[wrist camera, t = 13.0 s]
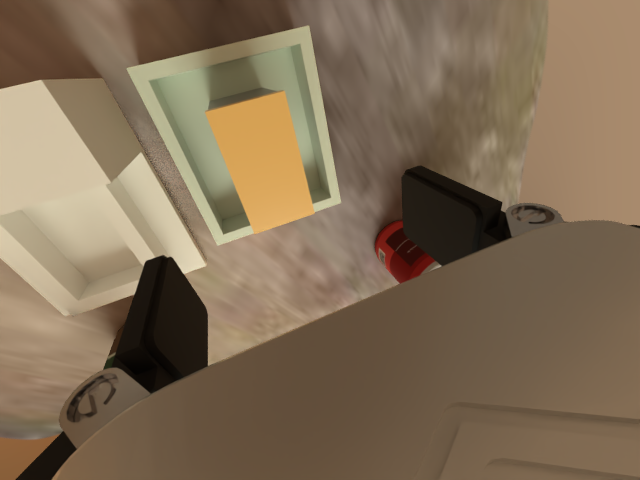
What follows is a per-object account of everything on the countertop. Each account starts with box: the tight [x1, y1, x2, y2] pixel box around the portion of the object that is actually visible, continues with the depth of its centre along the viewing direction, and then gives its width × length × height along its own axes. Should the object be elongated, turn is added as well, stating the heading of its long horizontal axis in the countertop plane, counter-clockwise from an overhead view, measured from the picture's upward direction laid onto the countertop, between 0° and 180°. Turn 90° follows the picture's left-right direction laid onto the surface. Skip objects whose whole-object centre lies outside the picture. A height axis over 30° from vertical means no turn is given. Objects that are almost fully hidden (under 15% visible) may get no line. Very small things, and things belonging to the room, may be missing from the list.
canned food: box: [375, 220, 441, 284], centre depth 38 cm, size 8×8×11 cm
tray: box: [126, 25, 341, 245], centre depth 27 cm, size 16×14×4 cm
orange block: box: [205, 88, 315, 234], centre depth 24 cm, size 9×5×10 cm, turn 13°
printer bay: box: [0, 78, 207, 316], centre depth 23 cm, size 20×16×10 cm
